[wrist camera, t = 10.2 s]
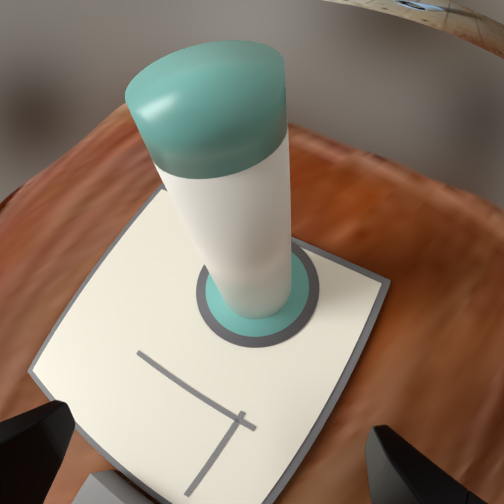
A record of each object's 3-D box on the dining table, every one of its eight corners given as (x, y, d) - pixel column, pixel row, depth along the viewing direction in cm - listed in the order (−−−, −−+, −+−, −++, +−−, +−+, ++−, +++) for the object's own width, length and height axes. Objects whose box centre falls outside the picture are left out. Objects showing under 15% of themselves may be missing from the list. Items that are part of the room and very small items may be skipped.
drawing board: (389, 283, 17) (392, 278, 17) (237, 545, 11) (235, 549, 10) (163, 186, 24) (160, 181, 23) (30, 372, 17) (25, 370, 16)
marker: (305, 285, 17) (318, 60, 6) (254, 333, 16) (175, 138, 5) (258, 243, 19) (216, 33, 8) (208, 286, 18) (104, 90, 7)
